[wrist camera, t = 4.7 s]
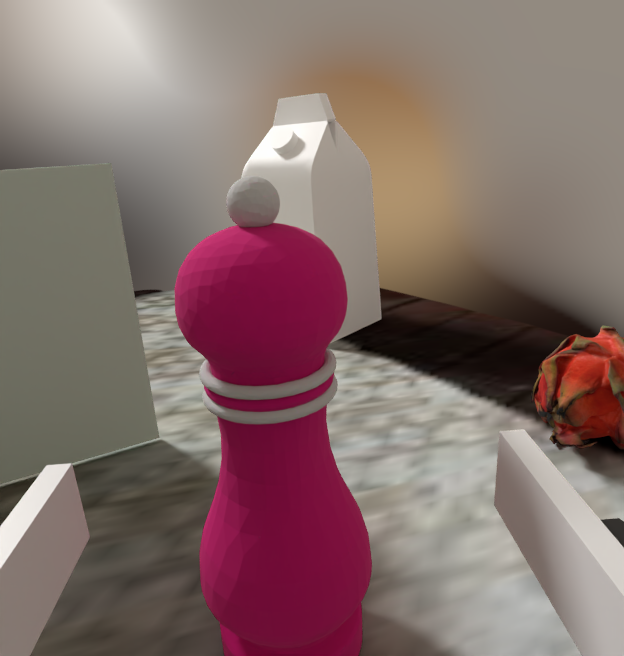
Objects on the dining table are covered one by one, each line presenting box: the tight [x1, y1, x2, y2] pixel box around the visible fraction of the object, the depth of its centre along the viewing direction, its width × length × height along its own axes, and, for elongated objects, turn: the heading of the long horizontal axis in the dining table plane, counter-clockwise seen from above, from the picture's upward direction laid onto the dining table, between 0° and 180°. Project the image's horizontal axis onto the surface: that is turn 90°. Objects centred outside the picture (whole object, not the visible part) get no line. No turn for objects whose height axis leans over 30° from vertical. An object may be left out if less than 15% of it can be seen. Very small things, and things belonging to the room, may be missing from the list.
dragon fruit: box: [531, 326, 624, 449], centre depth 37 cm, size 8×8×12 cm
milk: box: [242, 93, 382, 343], centre depth 61 cm, size 12×12×26 cm
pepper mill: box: [175, 176, 372, 656], centre depth 20 cm, size 7×7×20 cm
